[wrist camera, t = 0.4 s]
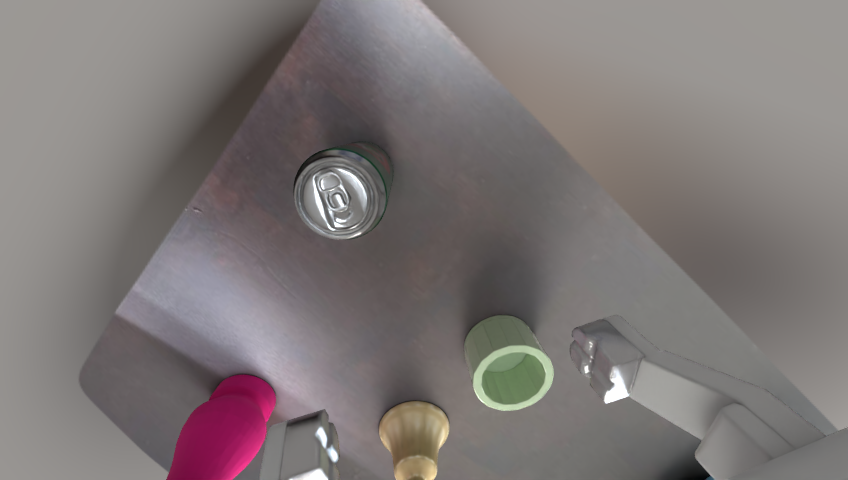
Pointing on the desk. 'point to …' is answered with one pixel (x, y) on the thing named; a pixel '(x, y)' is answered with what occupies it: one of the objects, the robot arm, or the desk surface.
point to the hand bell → (414, 438)
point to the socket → (507, 363)
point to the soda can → (344, 190)
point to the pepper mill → (224, 431)
